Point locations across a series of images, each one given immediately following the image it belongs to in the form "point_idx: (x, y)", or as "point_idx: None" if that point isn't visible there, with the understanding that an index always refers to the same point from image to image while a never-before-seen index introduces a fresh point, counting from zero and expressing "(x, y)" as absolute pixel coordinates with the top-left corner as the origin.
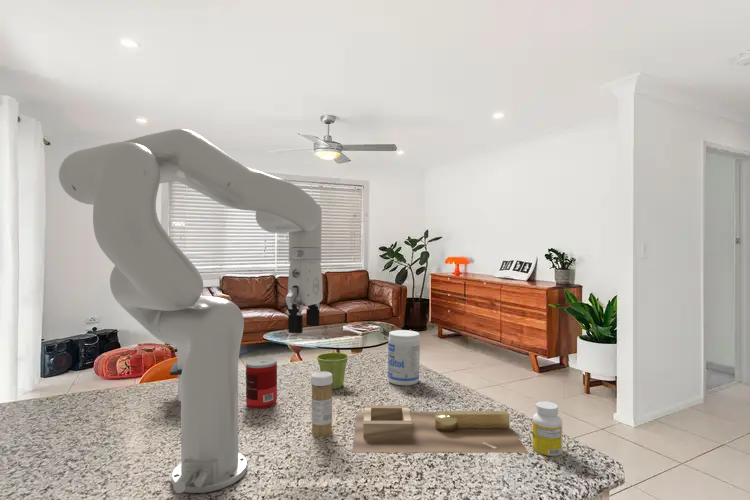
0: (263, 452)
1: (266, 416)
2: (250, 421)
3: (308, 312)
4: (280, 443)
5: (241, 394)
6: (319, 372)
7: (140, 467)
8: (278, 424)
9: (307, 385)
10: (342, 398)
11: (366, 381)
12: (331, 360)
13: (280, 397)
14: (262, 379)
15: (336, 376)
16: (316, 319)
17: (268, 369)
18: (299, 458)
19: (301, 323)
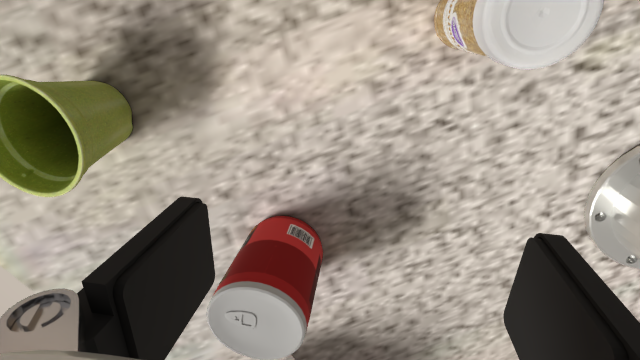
0: (563, 135)
1: (358, 206)
2: (392, 229)
3: (158, 348)
4: (512, 115)
5: None
6: (513, 35)
7: None
8: (400, 162)
9: (133, 183)
10: (184, 49)
11: (17, 14)
12: (72, 128)
13: (236, 218)
14: (305, 279)
15: (98, 100)
16: (183, 237)
17: (285, 286)
18: (604, 31)
19: (605, 289)
